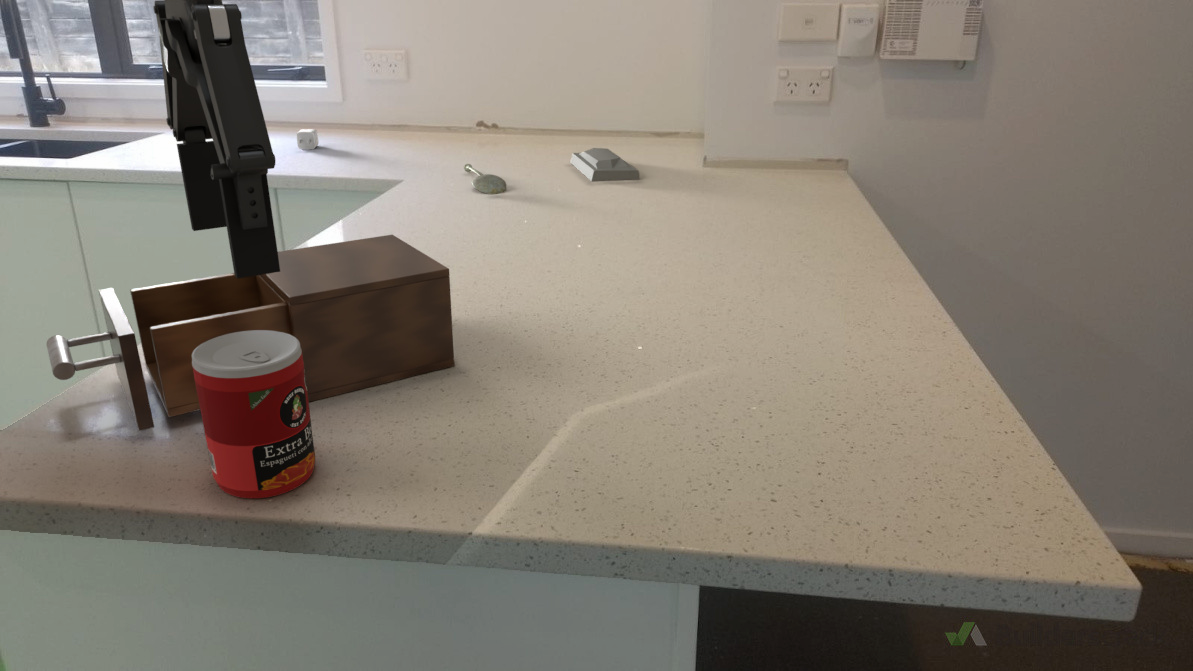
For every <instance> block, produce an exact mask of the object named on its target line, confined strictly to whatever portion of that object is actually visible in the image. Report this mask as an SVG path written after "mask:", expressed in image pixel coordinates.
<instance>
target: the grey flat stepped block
mask: <svg viewBox="0 0 1193 671" xmlns="http://www.w3.org/2000/svg"><path fill="white" fill-rule="evenodd" d="M570 157H571V158H570V161H569V163H570V164H571V165H572V166H573V167H574V168H576V169H577V170H578V171H579V172H580V173H581V174H583V176H585V177H586V178H587V179H588V180H589V181H590V182H608V181H609V182H610V181H630V180H631V181H632V180H633V181H635V180H636V181H637V180H640V170H639V169H637V168H636V167H634V166H633V165H631V164H630V163H628V162H627V161H626V160H625V159H623V158H622V157H621V156H619V155H618V154H616V153H615V152H613V151H612V150H610V149H609V148H602V147H591V148H590V149H587V150H585V151H582V152H572V153H571V156H570Z"/></svg>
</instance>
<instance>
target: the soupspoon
mask: <svg viewBox="0 0 1193 671" xmlns="http://www.w3.org/2000/svg"><path fill="white" fill-rule="evenodd" d="M463 170H464V171H465V172H467V173H470V172H473V173H475V174H476V175H477V176H476V177H474V178H472V179H471V186H472V187H473V188H474V189H475V190H477V191H479V192H480V193H484V194H489V195H497V194H501V193H504V192H505V191H506V190H507V186H508V185H507V184H508V183H507V182H506V180H505V179H503V178H502V177H501V176H498V175H495V174H491V173H489V174H487V173H486V174H484V173H482V172H481V171H479V170H477V169H475V168H474V167H473V166H472V165H471V163H465V164H464V166H463Z"/></svg>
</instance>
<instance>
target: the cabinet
mask: <svg viewBox="0 0 1193 671" xmlns="http://www.w3.org/2000/svg"><path fill="white" fill-rule="evenodd" d="M278 258H279V265H280V272H275V273H269V274H263V275H261V276H262V277H263V278H264V279H265V280H266V281H267V282H268V283H269V284H270V285H271V286H272V287H273V288H274V289H275V290H276V291H277V292H278V293H279V294H280V295H281V296H282V297H283V298H284V299H285V300H286V301H287V302H288V303H289V304H288V307H289V314H290V322H291V329H292V336H294V337H295V338H296V339H298V340H299V343H300V347H301V350H302V356H303V362H304V370H305V378H306V386H307V394H308V402H309V403H310V402H313V401H319V400H322V399H326V398H330V397H334V396H338V395H339V396H340V395H343V394H346V393H350V392H354V391H359V390H362V389H367V388H370V387H375V386H379V385H383V384H387V383H391V382H395V381H399V380H402V379H407V378H411V377H415V376H419V375H423V374H428V373H430V372H436V371H438V370H439V371H440V370H442V369H447V368H451V367H454V366H455V353H454V352H455V351H454V335H453V316H452V315H453V314H452V299H451V298H452V297H451V278H450V275H451V274H450V268H449V267H447V266H446V265H444V264H442V263H441V262H439V261H437V260H436V259H434V258H432V257H431V256H429V255H427V254H425V252H423V251H421V250H419V249H417V248H416V247H414V246H413V245H411V244H409V243H407V242H405V241H404V240H402V239H400V238H399V237H397V236H396V235H394V234H387V235H380V236H373V237H367V238H366V237H365V238H360V239H354V240H347V241H340V242H333V243H326V244H320V245H314V246H306V247H298V248H293V249H287V250H281V251H280V250H279V251H278Z"/></svg>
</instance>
